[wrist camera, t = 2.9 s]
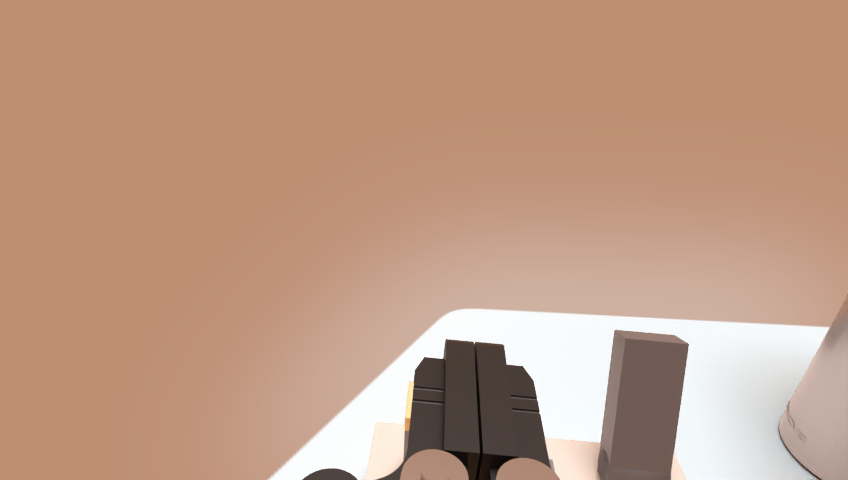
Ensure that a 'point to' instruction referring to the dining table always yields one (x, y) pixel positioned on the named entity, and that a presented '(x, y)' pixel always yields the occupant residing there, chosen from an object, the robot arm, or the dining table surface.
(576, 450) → the beige lever base
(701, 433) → the dining table surface
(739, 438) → the dining table surface
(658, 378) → the lever right
